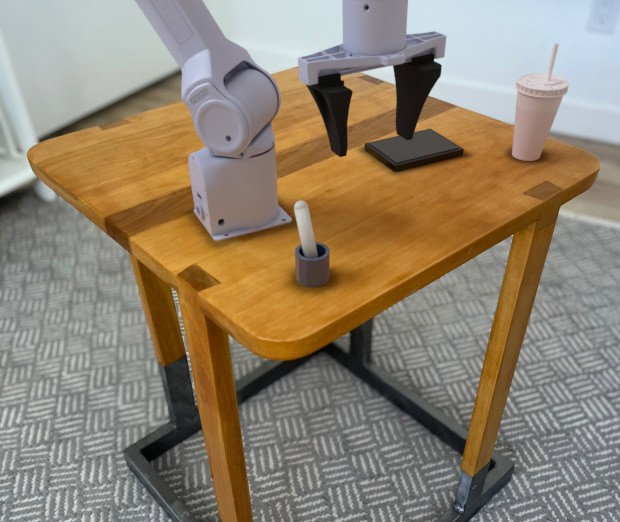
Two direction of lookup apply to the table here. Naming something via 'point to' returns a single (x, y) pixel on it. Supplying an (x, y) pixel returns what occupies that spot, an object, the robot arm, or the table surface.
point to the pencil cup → (313, 266)
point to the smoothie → (536, 110)
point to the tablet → (413, 150)
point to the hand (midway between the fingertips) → (372, 144)
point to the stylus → (305, 229)
